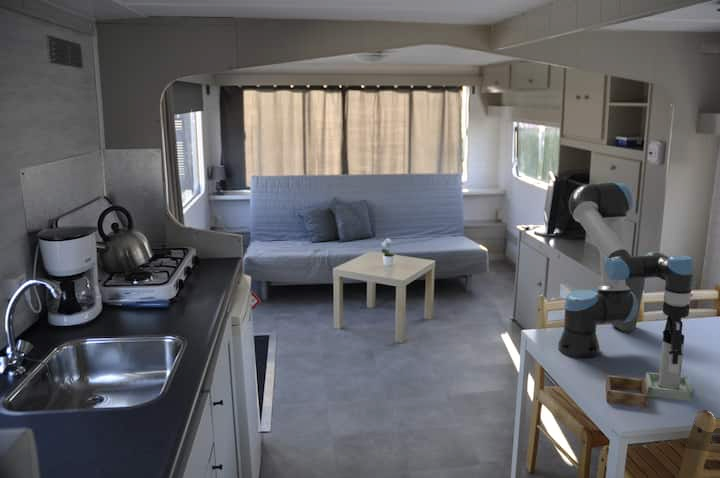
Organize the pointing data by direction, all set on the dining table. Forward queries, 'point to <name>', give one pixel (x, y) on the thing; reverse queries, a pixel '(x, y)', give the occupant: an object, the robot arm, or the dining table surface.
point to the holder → (626, 397)
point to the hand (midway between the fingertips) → (670, 363)
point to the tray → (681, 394)
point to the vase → (637, 290)
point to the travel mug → (666, 377)
